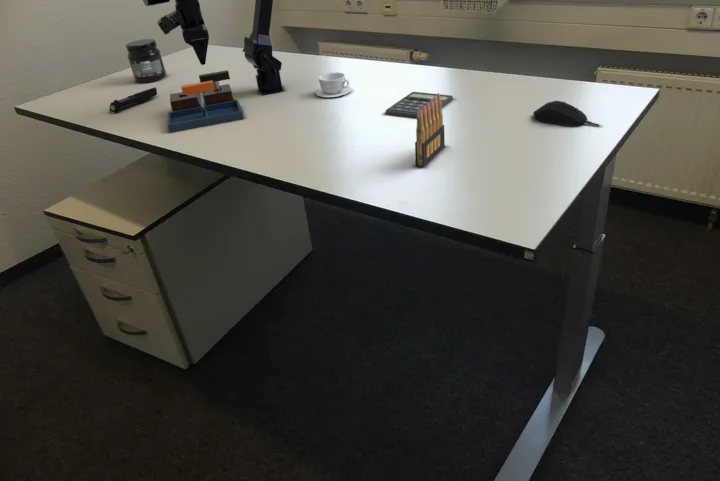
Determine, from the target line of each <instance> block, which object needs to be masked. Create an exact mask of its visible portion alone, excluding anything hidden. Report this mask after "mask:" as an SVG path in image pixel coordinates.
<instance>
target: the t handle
mask: <svg viewBox="0 0 720 481" xmlns="http://www.w3.org/2000/svg"><path fill="white" fill-rule="evenodd" d="M180 89H181V92H183V95H188V94H194V93H196V94H197V98H198V102H199V106H200V110H201V113H202V117H203V118H206V117H209V116H208V112H207V108H206V104H205V100H204V96H203V92H205V91H211V90H215V89H214V85H213V81H206V82H200V81H199V82H195V83H188V84H183V85H181V88H180Z"/></svg>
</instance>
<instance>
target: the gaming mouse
mask: <svg viewBox="0 0 720 481" xmlns="http://www.w3.org/2000/svg"><path fill="white" fill-rule="evenodd" d="M532 113H533V116H534V117H535V119H537V120H539V121H541V122H545V123H550V124H551V123H552V124H558V125H564V126H569V127H570V126H571V127H572V126H580V125H583V124H587V125H592V126H596V127H600V124H599V123H594V122H592V121H590V120H588V117H587V115H586V114H585V113H584V112H583V111H582V110H580V109H579V108H578V107H576V106H574V105H571V104H570V103H567V102H565V101H562V100H561V101H560V100H553V101H550V102H546V103H545V104H543V105H542V106H540V107H539V108H537V109H536V110H534V111H533V112H532Z"/></svg>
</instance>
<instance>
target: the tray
mask: <svg viewBox="0 0 720 481" xmlns="http://www.w3.org/2000/svg"><path fill="white" fill-rule="evenodd" d="M233 100H234V99H233ZM206 108H207V112H208V116H209V117H206V118H203V117H202V113H201V110H200V107H195V108H190V109H184V110H179V111H170V112H169V111H168V112H167V128H168V131H169V133H176V132H180V131H181V132H182V131H185V130H192V129H195V128H202V127H206V126H207V127H208V126H211V125H212V126H213V125H217V124H223V123H228V122H233V121H238V120H244V115H243V111H242V108H241V105H240V101H239V99H236V100H234V101H228V102H223V103H217V104H212V105H206Z"/></svg>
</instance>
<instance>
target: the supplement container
mask: <svg viewBox="0 0 720 481" xmlns="http://www.w3.org/2000/svg"><path fill="white" fill-rule="evenodd" d="M157 46H158V44H157V41H156V39H154V38H144V39H143V38H142V39H137V40H133V41H130V42H127V43H126V44H125V48H126V51H127V52H128V53H127V56H126V58H127V59H128V63H129V65H130V68H131V71H132V74H133V78H134V80H135V81H136V82H138V83H141V84H142V83H143V84H144V83H147V84H148V83H153V82H157V81H160V80H162V79H164V78H165V77H166V76H167V71H166V68H165V65H164V62H163V58H162V55H161V50H160V49H159V48H158V47H157Z"/></svg>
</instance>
